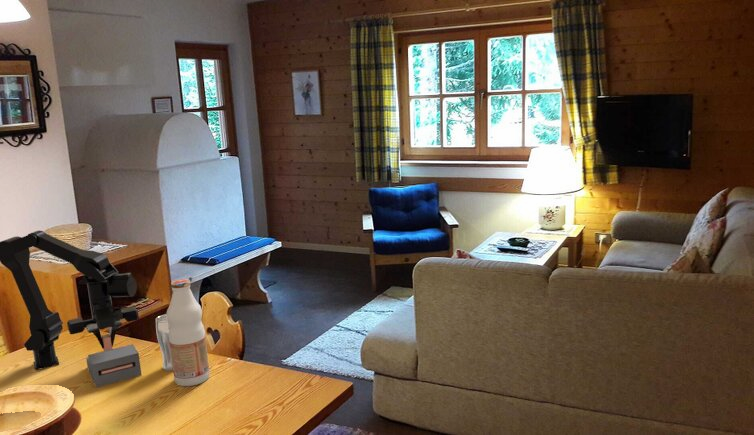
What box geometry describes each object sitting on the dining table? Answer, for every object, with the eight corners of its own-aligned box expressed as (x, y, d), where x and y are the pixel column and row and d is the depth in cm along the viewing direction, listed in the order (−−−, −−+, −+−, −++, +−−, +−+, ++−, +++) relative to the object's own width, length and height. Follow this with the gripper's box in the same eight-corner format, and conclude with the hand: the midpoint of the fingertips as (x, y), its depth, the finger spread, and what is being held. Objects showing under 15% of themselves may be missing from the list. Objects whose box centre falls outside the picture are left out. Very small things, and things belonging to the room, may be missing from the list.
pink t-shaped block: (93, 354, 183) (90, 338, 182) (121, 347, 187) (119, 331, 186) (101, 374, 169) (99, 356, 168) (132, 366, 173) (130, 348, 172)
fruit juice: (181, 390, 164) (168, 289, 158) (169, 378, 171) (157, 281, 166) (215, 379, 169) (204, 281, 164) (202, 368, 177) (191, 274, 171)
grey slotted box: (87, 367, 182) (84, 346, 181) (130, 356, 188) (127, 335, 187) (95, 387, 169) (92, 364, 167) (141, 375, 175) (138, 352, 173)
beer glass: (190, 361, 182) (184, 312, 179) (180, 371, 176) (174, 321, 173) (167, 361, 183) (161, 313, 180) (157, 371, 176) (150, 322, 173)
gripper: (67, 311, 169) (76, 365, 172) (139, 296, 178) (146, 347, 181) (63, 301, 178) (71, 352, 181) (131, 287, 188) (138, 336, 191)
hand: (107, 347), depth 183 cm, fingers closed on pink t-shaped block, 2 cm apart
